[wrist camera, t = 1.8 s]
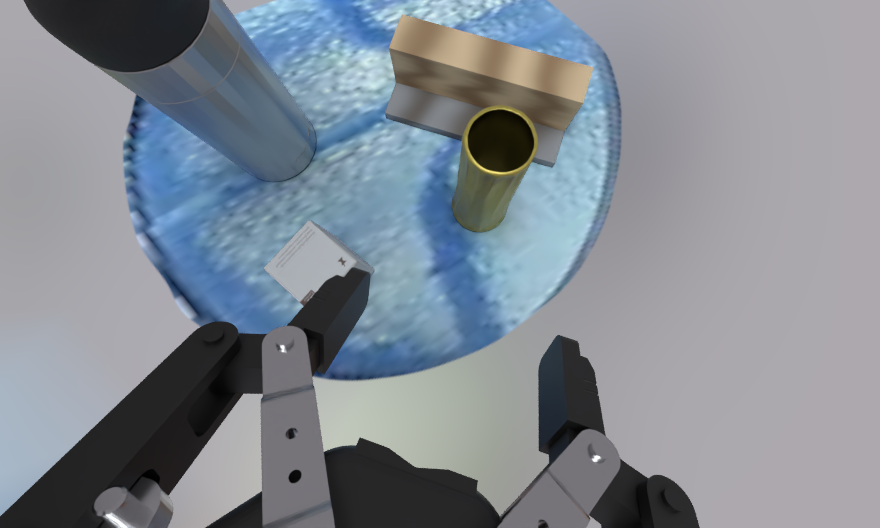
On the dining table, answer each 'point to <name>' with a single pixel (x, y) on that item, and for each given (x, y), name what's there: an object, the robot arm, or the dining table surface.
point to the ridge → (480, 83)
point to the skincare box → (312, 261)
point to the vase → (492, 165)
